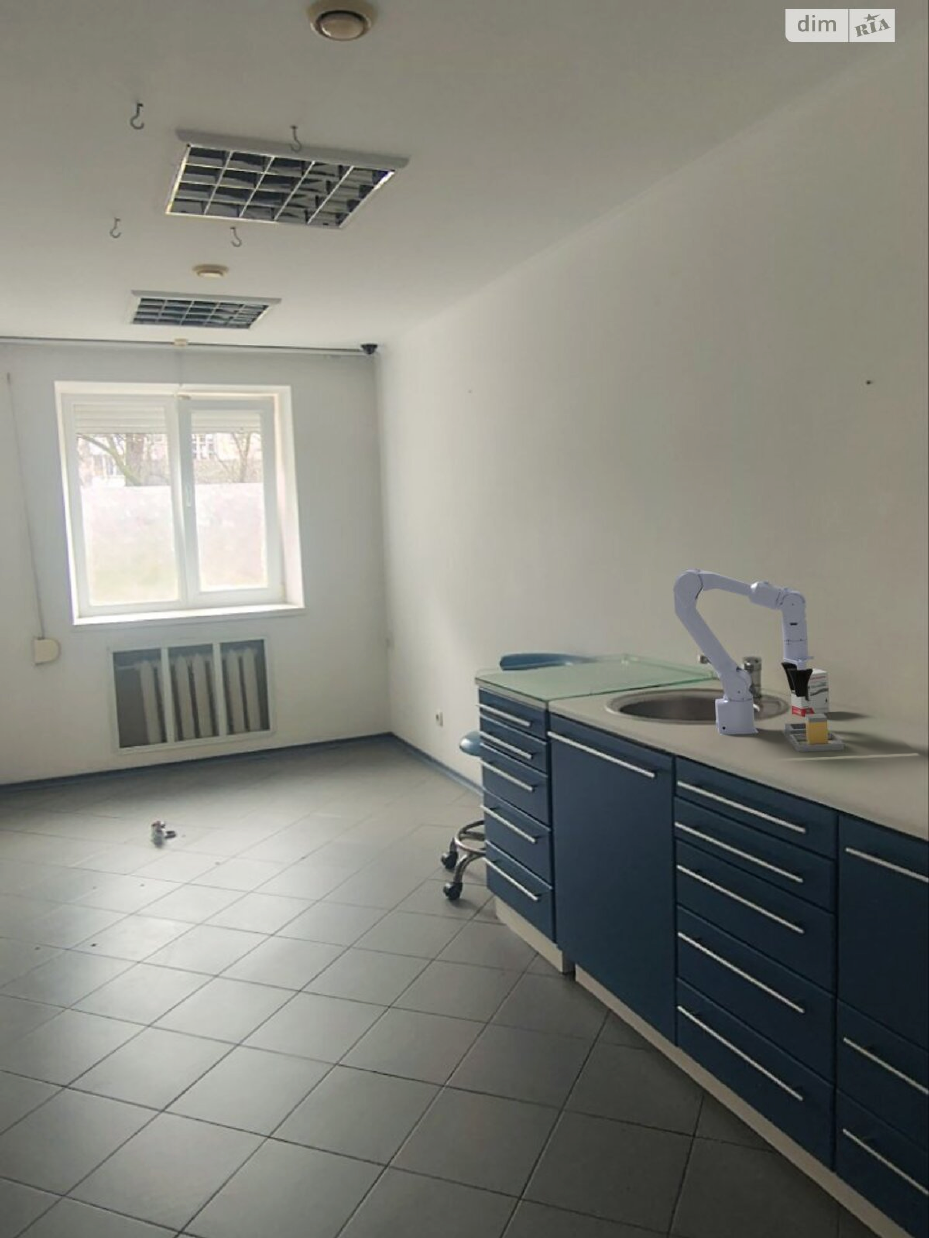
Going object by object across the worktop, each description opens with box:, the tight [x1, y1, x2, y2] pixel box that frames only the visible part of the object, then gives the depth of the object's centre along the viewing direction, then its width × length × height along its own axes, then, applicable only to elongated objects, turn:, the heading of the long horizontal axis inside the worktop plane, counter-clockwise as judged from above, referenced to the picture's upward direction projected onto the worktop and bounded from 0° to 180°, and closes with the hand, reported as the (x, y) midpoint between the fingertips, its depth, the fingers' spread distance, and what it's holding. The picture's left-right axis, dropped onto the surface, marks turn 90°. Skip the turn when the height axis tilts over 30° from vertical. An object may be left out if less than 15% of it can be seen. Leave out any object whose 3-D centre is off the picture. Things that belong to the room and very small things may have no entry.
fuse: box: [804, 713, 829, 745], centre depth 204 cm, size 4×4×7 cm
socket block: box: [780, 721, 806, 740], centre depth 215 cm, size 9×9×2 cm
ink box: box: [790, 668, 830, 717], centre depth 233 cm, size 8×5×12 cm, turn 103°
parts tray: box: [789, 732, 845, 753], centre depth 204 cm, size 10×10×2 cm
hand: (797, 693), depth 217 cm, fingers open, 7 cm apart
